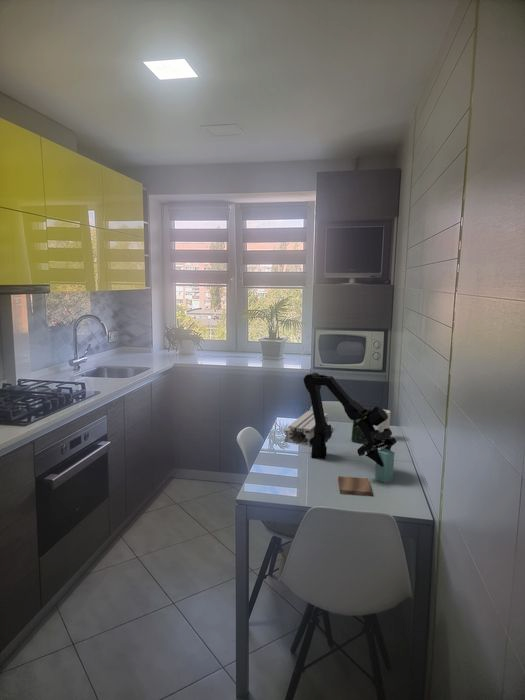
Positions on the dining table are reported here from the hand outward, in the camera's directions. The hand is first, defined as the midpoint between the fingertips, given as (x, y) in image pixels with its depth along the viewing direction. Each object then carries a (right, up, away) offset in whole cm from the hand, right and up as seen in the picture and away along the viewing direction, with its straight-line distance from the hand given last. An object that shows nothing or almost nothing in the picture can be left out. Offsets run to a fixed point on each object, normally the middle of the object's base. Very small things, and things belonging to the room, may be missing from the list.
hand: (387, 465), depth 176 cm
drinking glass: (+12, 0, +50) cm, 52 cm away
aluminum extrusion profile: (-28, +1, +54) cm, 60 cm away
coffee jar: (-1, 0, +46) cm, 46 cm away
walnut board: (-15, -7, -6) cm, 18 cm away
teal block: (-1, -6, +2) cm, 7 cm away
